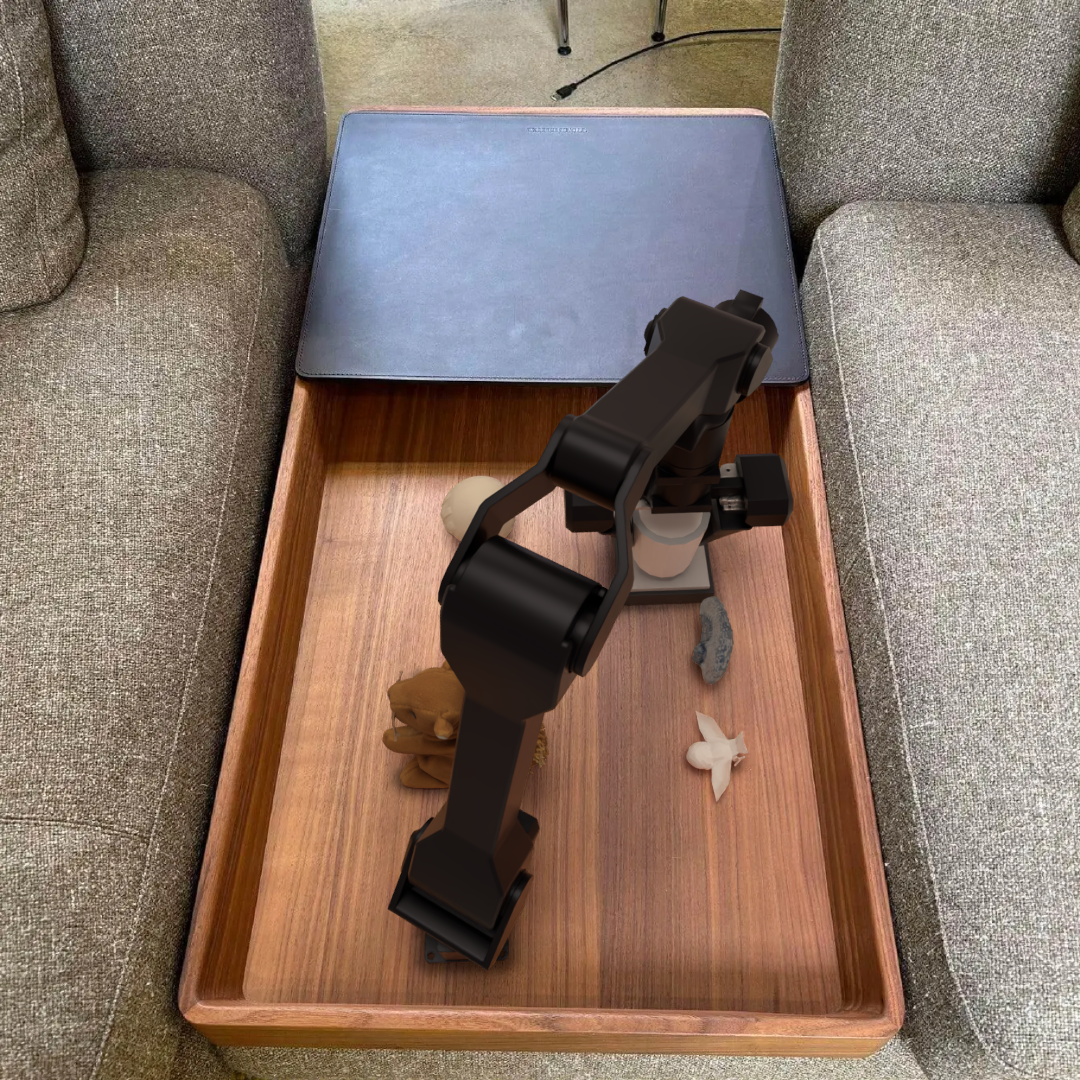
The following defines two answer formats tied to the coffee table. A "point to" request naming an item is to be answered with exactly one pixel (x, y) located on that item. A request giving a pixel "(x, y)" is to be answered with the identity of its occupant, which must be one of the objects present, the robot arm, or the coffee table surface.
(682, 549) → the shot glass
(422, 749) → the stuffed squirrel
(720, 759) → the toy bird
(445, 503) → the beige round ball
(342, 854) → the coffee table surface
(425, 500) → the coffee table surface
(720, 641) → the fossil
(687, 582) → the kitchen scale
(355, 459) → the coffee table surface
